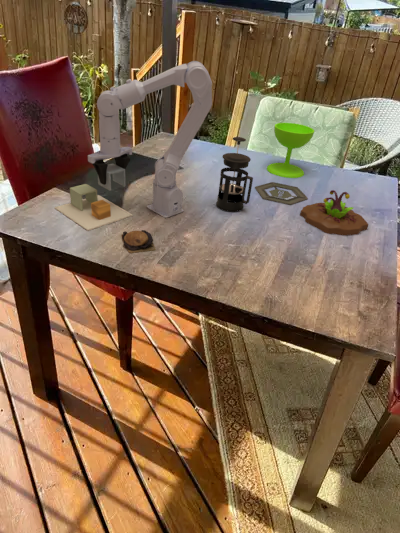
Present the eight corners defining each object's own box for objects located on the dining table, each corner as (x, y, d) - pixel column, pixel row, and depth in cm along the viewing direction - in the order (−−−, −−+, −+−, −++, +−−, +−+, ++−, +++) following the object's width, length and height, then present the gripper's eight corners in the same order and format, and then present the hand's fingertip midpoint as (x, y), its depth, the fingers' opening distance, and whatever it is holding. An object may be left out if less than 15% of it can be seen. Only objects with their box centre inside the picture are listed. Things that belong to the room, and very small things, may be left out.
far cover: (97, 206, 126) (97, 190, 123) (81, 211, 122) (80, 194, 119) (87, 199, 129) (85, 183, 126) (71, 204, 125) (69, 187, 122)
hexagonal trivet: (304, 209, 140) (305, 206, 139) (249, 197, 144) (249, 194, 144) (310, 191, 153) (310, 189, 153) (259, 181, 158) (259, 179, 158)
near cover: (125, 186, 123) (125, 169, 120) (110, 190, 120) (109, 173, 117) (113, 180, 127) (112, 163, 124) (98, 184, 123) (97, 167, 120)
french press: (209, 205, 134) (216, 137, 122) (222, 197, 141) (231, 131, 129) (240, 216, 130) (251, 146, 117) (252, 206, 137) (264, 139, 124)
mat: (132, 215, 123) (132, 214, 123) (87, 231, 113) (87, 229, 113) (98, 196, 133) (98, 194, 133) (54, 208, 123) (54, 207, 123)
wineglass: (276, 161, 179) (285, 120, 169) (309, 171, 172) (320, 129, 162) (259, 170, 168) (267, 126, 158) (294, 181, 161) (304, 136, 151)
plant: (329, 240, 122) (339, 206, 116) (291, 212, 136) (298, 181, 130) (376, 231, 130) (388, 199, 124) (336, 206, 144) (344, 176, 138)
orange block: (110, 216, 121) (110, 204, 119) (99, 220, 118) (98, 207, 116) (103, 211, 123) (102, 199, 121) (91, 215, 121) (90, 202, 118)
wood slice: (157, 252, 108) (158, 240, 106) (126, 255, 105) (126, 243, 103) (148, 233, 116) (148, 221, 114) (118, 235, 114) (118, 224, 112)
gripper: (121, 129, 122) (122, 172, 129) (80, 136, 112) (83, 182, 120) (136, 135, 118) (136, 179, 125) (94, 143, 109) (97, 189, 116)
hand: (111, 181), depth 122 cm, fingers closed on near cover, 6 cm apart
